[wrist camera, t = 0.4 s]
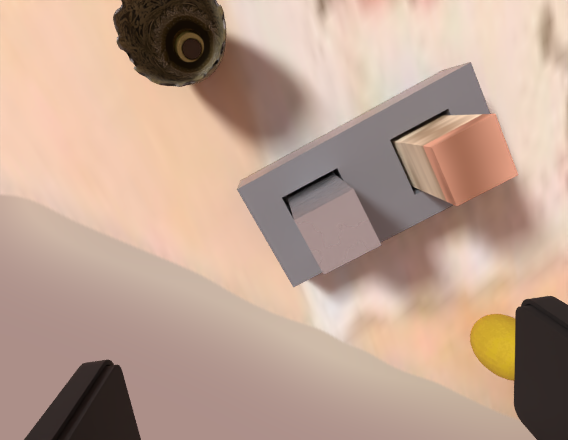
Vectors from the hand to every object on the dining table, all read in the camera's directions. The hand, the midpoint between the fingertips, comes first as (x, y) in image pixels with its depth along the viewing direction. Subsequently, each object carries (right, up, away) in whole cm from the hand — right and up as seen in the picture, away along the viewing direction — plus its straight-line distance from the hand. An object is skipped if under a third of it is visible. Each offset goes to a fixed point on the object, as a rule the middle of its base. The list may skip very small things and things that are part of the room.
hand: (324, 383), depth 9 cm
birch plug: (+11, +10, +27) cm, 31 cm away
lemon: (+20, -7, +33) cm, 39 cm away
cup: (-9, +19, +25) cm, 33 cm away
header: (+7, +8, +28) cm, 30 cm away
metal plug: (+2, +6, +28) cm, 29 cm away
